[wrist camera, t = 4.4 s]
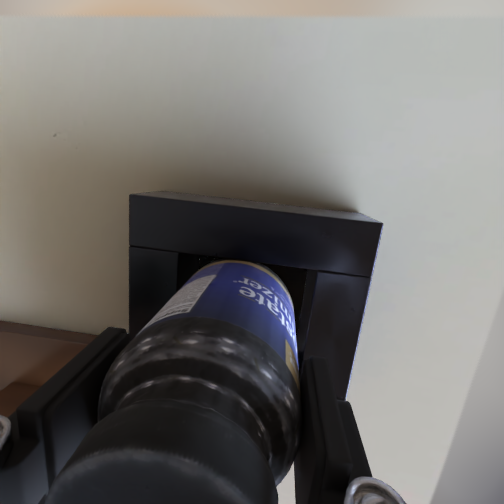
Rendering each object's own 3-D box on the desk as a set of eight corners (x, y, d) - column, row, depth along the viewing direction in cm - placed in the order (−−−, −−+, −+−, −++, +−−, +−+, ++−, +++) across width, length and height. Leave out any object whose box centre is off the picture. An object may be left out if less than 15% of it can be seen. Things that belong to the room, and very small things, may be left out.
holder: (161, 190, 18) (128, 193, 14) (361, 213, 17) (384, 223, 13) (156, 362, 21) (128, 403, 17) (327, 389, 20) (338, 439, 16)
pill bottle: (315, 322, 16) (383, 603, 5) (228, 375, 17) (145, 685, 7) (247, 231, 15) (169, 354, 5) (160, 294, 17) (-56, 504, 6)
